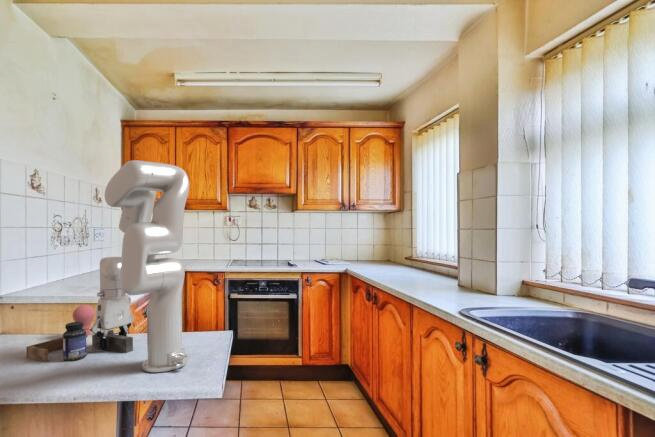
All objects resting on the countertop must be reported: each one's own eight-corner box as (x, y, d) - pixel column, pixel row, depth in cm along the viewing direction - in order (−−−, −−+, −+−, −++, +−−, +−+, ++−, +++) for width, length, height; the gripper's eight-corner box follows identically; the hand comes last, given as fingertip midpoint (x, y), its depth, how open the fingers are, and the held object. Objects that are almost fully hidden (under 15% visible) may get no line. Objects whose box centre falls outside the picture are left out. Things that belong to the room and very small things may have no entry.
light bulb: (85, 339, 140) (84, 307, 140) (68, 339, 141) (67, 307, 142) (99, 334, 147) (99, 303, 147) (83, 333, 148) (82, 302, 149)
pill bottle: (90, 355, 124) (90, 320, 124) (76, 361, 118) (76, 325, 118) (73, 354, 124) (72, 320, 124) (58, 361, 118) (57, 325, 118)
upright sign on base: (139, 348, 129) (138, 333, 129) (119, 355, 123) (119, 339, 123) (111, 343, 135) (111, 329, 135) (92, 349, 129) (92, 335, 129)
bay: (82, 350, 128) (82, 339, 129) (44, 361, 118) (44, 350, 118) (64, 346, 133) (64, 336, 133) (26, 357, 122) (26, 346, 122)
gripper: (95, 298, 120) (95, 356, 120) (142, 289, 136) (143, 340, 136) (80, 297, 124) (81, 353, 123) (128, 288, 139) (129, 338, 139)
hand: (113, 346), depth 130 cm, fingers open, 5 cm apart
